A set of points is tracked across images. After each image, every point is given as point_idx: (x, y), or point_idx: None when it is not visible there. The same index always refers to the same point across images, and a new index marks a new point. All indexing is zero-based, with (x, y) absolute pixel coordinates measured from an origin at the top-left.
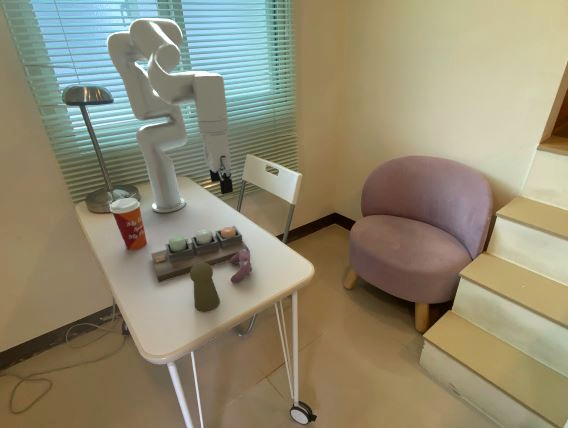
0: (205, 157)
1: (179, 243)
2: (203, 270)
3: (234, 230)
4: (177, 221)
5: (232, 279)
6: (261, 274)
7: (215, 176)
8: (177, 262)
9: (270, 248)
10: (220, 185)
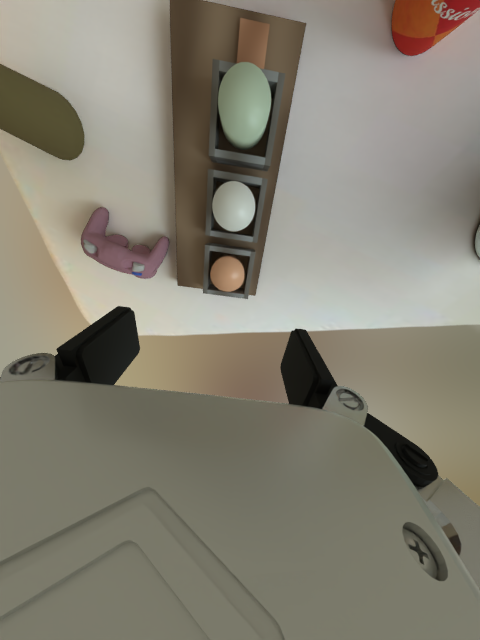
0: (331, 543)
1: (218, 103)
2: None
3: (219, 287)
4: (423, 204)
5: (96, 209)
6: None
7: (293, 362)
8: (208, 102)
9: (180, 318)
10: (90, 329)
